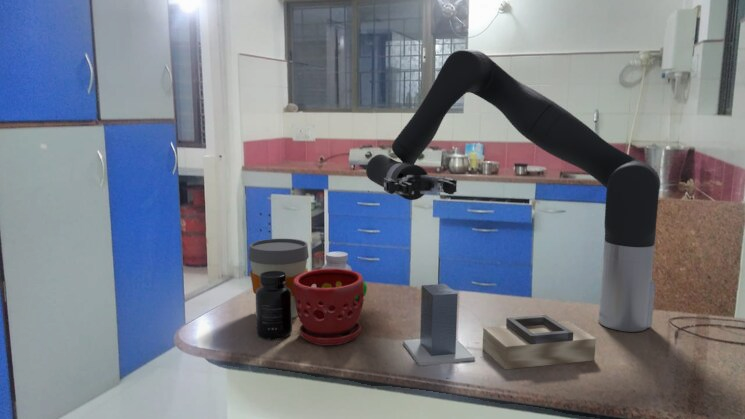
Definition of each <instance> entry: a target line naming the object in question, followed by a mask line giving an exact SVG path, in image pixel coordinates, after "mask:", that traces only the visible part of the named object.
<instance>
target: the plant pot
mask: <svg viewBox="0 0 745 419" xmlns="http://www.w3.org/2000/svg"><path fill="white" fill-rule="evenodd" d="M337 281H340V282H341V283H342V286H341V287H337V286H336V282H337ZM363 281H364V277H363V276H362V274H361V273H359V272H358V271H354V270H352V271H351V270H346V269H322V268H319V269H314V270H309V271H308V272H305V273H302V274H300V275H298V276H297V277H296V278H295V279H294V281H293V284H294V298H295V303H296V310H297V314H298V316H297V317H298V319H299V321H300V323H301V326H300V327H299V332H300V334H301V336H302V338H303V339H304V340H306V341H308V342H309V343H312V344H315V345H320V346H336V345H344V344H346V343H348V342H351V341H353V340H354V339H355V338H356V337H358V335H360V333H361V330H362V329H361V324H360V323H359V322H358V321H359V319H360V317H361V315H362V314H361V313H362V310H363V306H364V305H363V304H364V297H363V295H364V286H363ZM325 283H329V284H330V285H331V286H332V288H322V285H323V284H325ZM313 285H315V287H313ZM357 295H358V300H355V297H356V296H357Z"/></svg>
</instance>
